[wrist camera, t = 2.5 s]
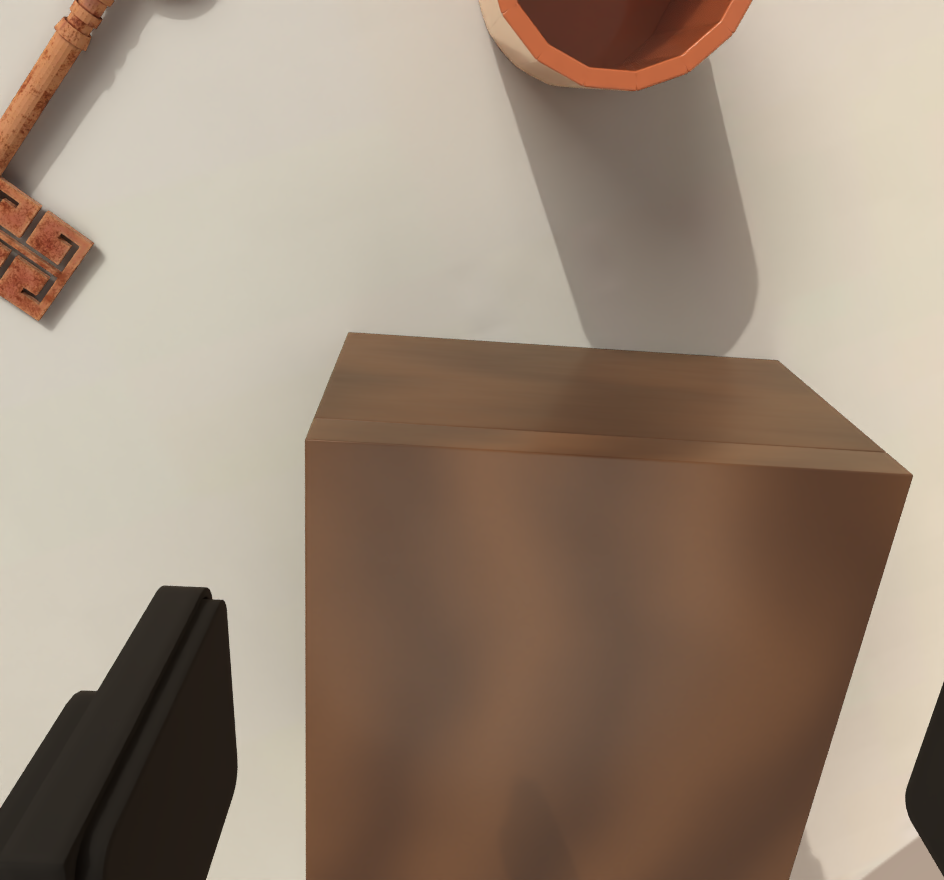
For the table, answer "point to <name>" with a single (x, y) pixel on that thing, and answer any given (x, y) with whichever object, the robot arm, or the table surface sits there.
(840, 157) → the table surface
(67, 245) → the key
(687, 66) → the cup
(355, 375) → the dark wooden box
